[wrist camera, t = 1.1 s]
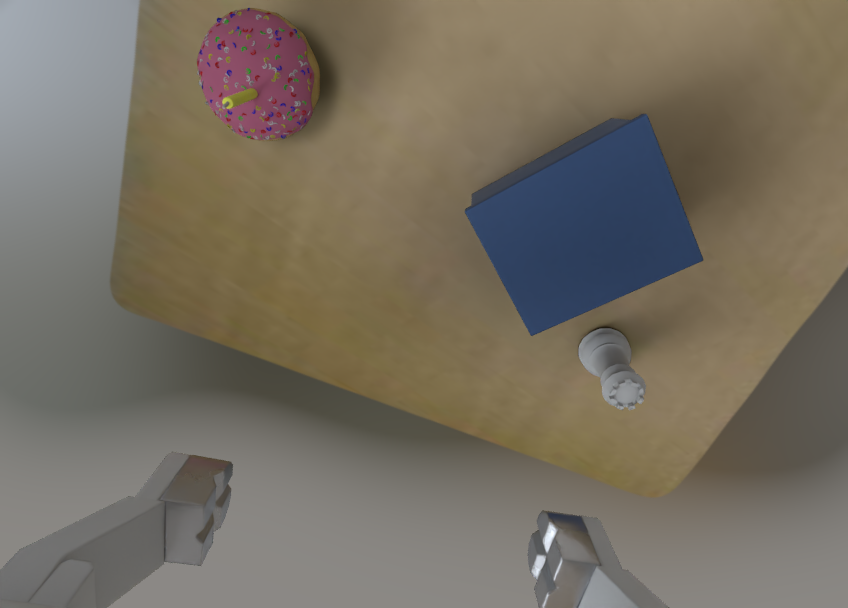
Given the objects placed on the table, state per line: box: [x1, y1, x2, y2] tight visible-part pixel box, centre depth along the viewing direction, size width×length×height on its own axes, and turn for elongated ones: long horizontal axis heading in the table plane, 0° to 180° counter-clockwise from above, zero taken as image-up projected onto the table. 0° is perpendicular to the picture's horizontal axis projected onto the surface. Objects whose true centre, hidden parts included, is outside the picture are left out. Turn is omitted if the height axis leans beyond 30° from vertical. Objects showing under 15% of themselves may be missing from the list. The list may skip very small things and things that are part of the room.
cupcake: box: [197, 8, 320, 141], centre depth 33 cm, size 9×8×12 cm
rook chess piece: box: [578, 328, 646, 410], centre depth 41 cm, size 4×4×8 cm
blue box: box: [465, 114, 703, 336], centre depth 36 cm, size 13×11×8 cm
